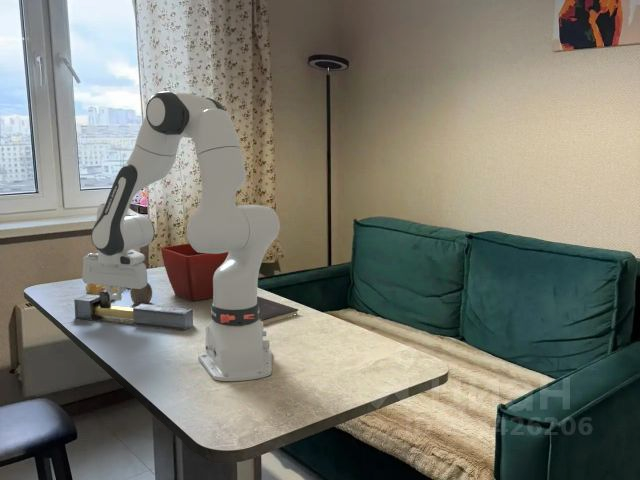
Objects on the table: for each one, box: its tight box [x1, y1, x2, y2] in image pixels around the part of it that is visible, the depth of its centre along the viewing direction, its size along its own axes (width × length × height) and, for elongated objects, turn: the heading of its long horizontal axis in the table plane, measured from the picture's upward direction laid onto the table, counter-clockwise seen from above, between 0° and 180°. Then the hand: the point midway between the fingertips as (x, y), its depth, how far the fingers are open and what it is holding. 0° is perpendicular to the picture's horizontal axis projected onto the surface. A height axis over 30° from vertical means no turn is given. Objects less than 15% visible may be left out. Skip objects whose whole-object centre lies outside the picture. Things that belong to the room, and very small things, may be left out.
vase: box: [130, 282, 153, 306], centre depth 191 cm, size 7×7×9 cm
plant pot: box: [160, 243, 229, 302], centre depth 202 cm, size 19×19×17 cm
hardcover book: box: [257, 295, 300, 325], centre depth 187 cm, size 16×23×2 cm
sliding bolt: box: [93, 290, 134, 319], centre depth 174 cm, size 22×3×7 cm, turn 76°
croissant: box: [85, 284, 118, 295], centre depth 201 cm, size 21×10×8 cm, turn 40°
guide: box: [73, 293, 194, 332], centre depth 174 cm, size 36×6×6 cm, turn 76°
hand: (115, 299), depth 175 cm, fingers closed
